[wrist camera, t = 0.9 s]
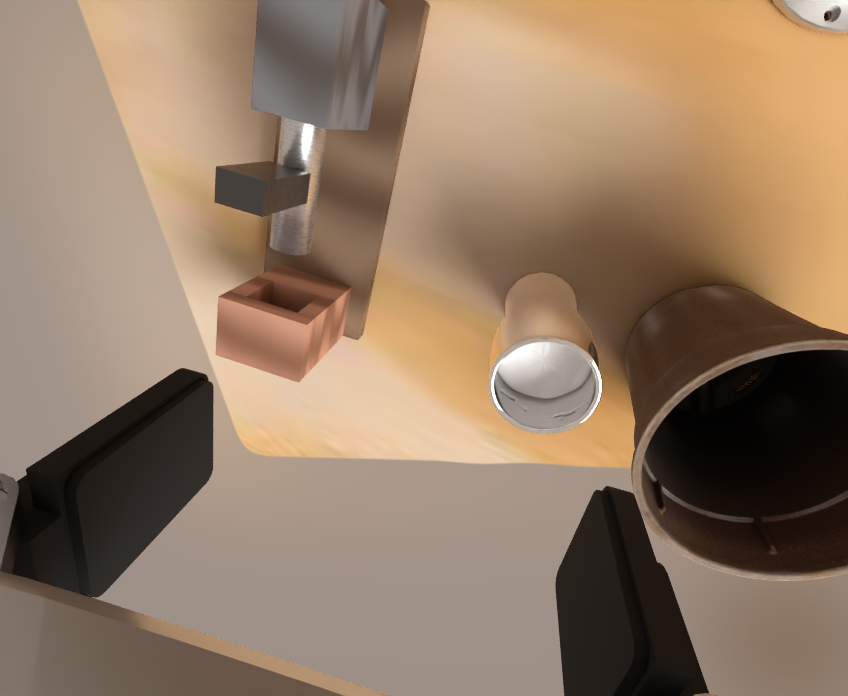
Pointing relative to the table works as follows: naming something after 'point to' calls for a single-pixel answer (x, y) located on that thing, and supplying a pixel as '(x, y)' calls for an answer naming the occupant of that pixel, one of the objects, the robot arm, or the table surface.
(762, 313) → the plant pot
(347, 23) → the tube rig
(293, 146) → the tube
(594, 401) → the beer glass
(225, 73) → the table surface
